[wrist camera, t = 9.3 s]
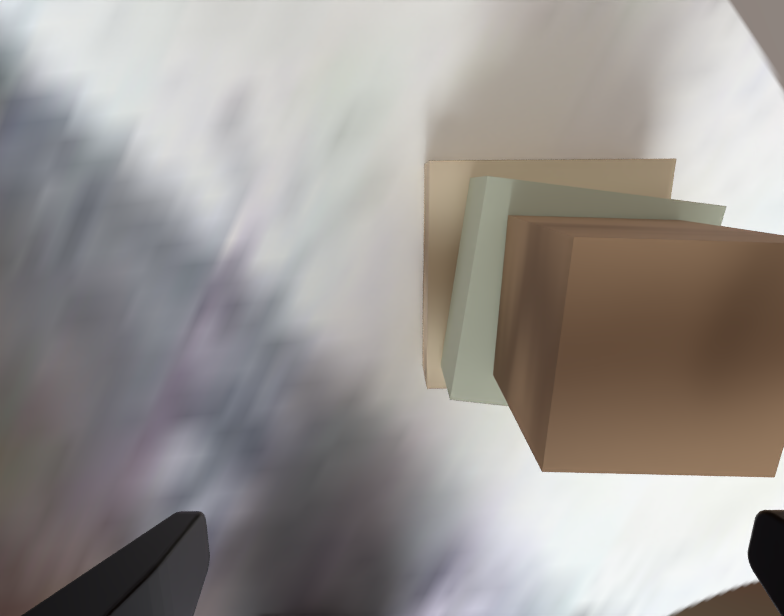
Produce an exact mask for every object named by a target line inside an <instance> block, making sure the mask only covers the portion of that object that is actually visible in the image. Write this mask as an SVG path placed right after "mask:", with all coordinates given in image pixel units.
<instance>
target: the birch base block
mask: <svg viewBox="0 0 784 616" xmlns="http://www.w3.org/2000/svg"><path fill="white" fill-rule="evenodd" d="M675 164H676V159H572V160H447V161H428V162H427V163H426V164H424V265H423V370H424V376H425V381H426V386H427V389H439V388H447V387H446V383H445V379H444V376H443V372H442V368H441V359H442V353H443V346H444V340H445V334H446V328H447V321H448V315H449V309H450V302H451V296H452V290H453V283H454V277H455V271H456V264H457V258H458V252H459V245H460V239H461V233H462V226H463V220H464V214H465V207H466V201H467V195H468V189H469V182H470V178H473V177H482V176H492V177H500V178H508V179H516V180H524V181H531V182H539V183H547V184H555V185H563V186H571V187H579V188H587V189H594V190H602V191H610V192H618V193H626V194H634V195H642V196H649V197H657V198H665V199H671V192H672V185H673V178H674V171H675Z"/></svg>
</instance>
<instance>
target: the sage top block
mask: <svg viewBox="0 0 784 616" xmlns="http://www.w3.org/2000/svg"><path fill="white" fill-rule="evenodd" d="M725 209H726V206H720V205H712V204H704V203H697V202H689V201H681V200H673V199H665V198H657V197H649V196H642V195H634V194H626V193H618V192H610V191H602V190H594V189H587V188H579V187H571V186H563V185H555V184H547V183H539V182H531V181H524V180H516V179H508V178H500V177H492V176H482V177H473V178H470V182H469V189H468V195H467V201H466V207H465V214H464V220H463V226H462V233H461V239H460V245H459V252H458V258H457V264H456V271H455V277H454V283H453V290H452V296H451V302H450V309H449V315H448V321H447V328H446V334H445V340H444V346H443V353H442V359H441V368H442V372H443V376H444V379H445V383H446V387H447V390H448V394H449V398H450V400H457V401H466V402H475V403H484V404H493V405H502V406H508V404H507V402H506V400H505V398H504V396H503V394H502V392H501V390H500V388H499V386H498V384H497V382H496V380H495V378H494V376H493V368H494V358H495V347H496V337H497V326H498V316H499V305H500V295H501V284H502V274H503V263H504V253H505V242H506V232H507V221H508V215H521V216H556V217H592V218H627V219H663V220H684V221H690V222H697V223H704V224H710V225H717V226H721V223H722V219H723V216H724V213H725Z"/></svg>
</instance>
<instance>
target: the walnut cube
mask: <svg viewBox="0 0 784 616" xmlns="http://www.w3.org/2000/svg"><path fill="white" fill-rule="evenodd" d="M493 376H494V378H495V380H496V382H497V384H498V386H499V388H500V390H501V392H502V394H503V396H504V398H505V400H506V402H507V404H508V406H509V408H510V410H511V411H512V413H513V415H514V417H515V419H516V421H517V423H518V425H519V427H520V429H521V431H522V433H523V435H524V437H525V439H526V441H527V443H528V445H529V447H530V449H531V451H532V453H533V455H534V457H535V459H536V461H537V463H538V465H539V467H540V469H541V471H542V472H575V473H616V474H657V475H699V476H740V477H775V474H776V470H777V467H778V464H779V460H780V457H781V454H782V450H783V447H784V235H777V234H770V233H764V232H757V231H750V230H744V229H737V228H730V227H724V226H717V225H710V224H704V223H697V222H690V221H684V220H663V219H627V218H592V217H556V216H521V215H508V221H507V232H506V242H505V253H504V263H503V274H502V284H501V295H500V305H499V316H498V326H497V337H496V347H495V358H494V368H493Z"/></svg>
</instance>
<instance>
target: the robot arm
mask: <svg viewBox="0 0 784 616" xmlns="http://www.w3.org/2000/svg"><path fill="white" fill-rule="evenodd" d="M209 560H210V552H209V543H208V534H207V525H206V518H205V516H204V514H203V513H202V512H199V511H181V512H176V513H175V514H173V515H171V516H170V517H168V518H167V519H165V520H164V521H162V522H161V523H159V524H158V525H156V526H155V527H153V528H152V529H150V530H149V531H147V532H146V533H144V534H143V535H141V536H140V537H138V538H137V539H135V540H134V541H132V542H131V543H129V544H128V545H126V546H125V547H123V548H122V549H120V550H119V551H117V552H116V553H114V554H113V555H111V556H110V557H108V558H107V559H105V560H104V561H102V562H101V563H99V564H98V565H96V566H95V567H93V568H92V569H90V570H89V571H87V572H86V573H84V574H83V575H81V576H80V577H78V578H77V579H75V580H74V581H72V582H71V583H69V584H68V585H66V586H65V587H63V588H62V589H60V590H59V591H57V592H56V593H54V594H53V595H52V596H50V597H49V598H47V599H46V600H44V601H43V602H41V603H40V604H38V605H37V606H35V607H34V608H32V609H31V610H29V611H28V612H26V613H25V614H23V615H22V616H193V615H194V612H195V609H196V606H197V603H198V599H199V596H200V593H201V590H202V587H203V584H204V581H205V577H206V574H207V571H208V567H209ZM748 560H749V563H750V566H751V568H752V570H753V572H754V573H755V575H756V576H757V578H758V580H759V581H760V583H761V584H762V586H763V587H764V589H765V590H766V592H767V594H768V595H769V597H770V598H771V600H772V602H773V603H774V605H775V606H776V608H777V609H778V611H779V613H780V614H781V616H784V510H763V511H760V512H759V513H758V514H757V515H756V517H755V521H754V525H753V529H752V534H751V538H750V543H749V547H748Z"/></svg>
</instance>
